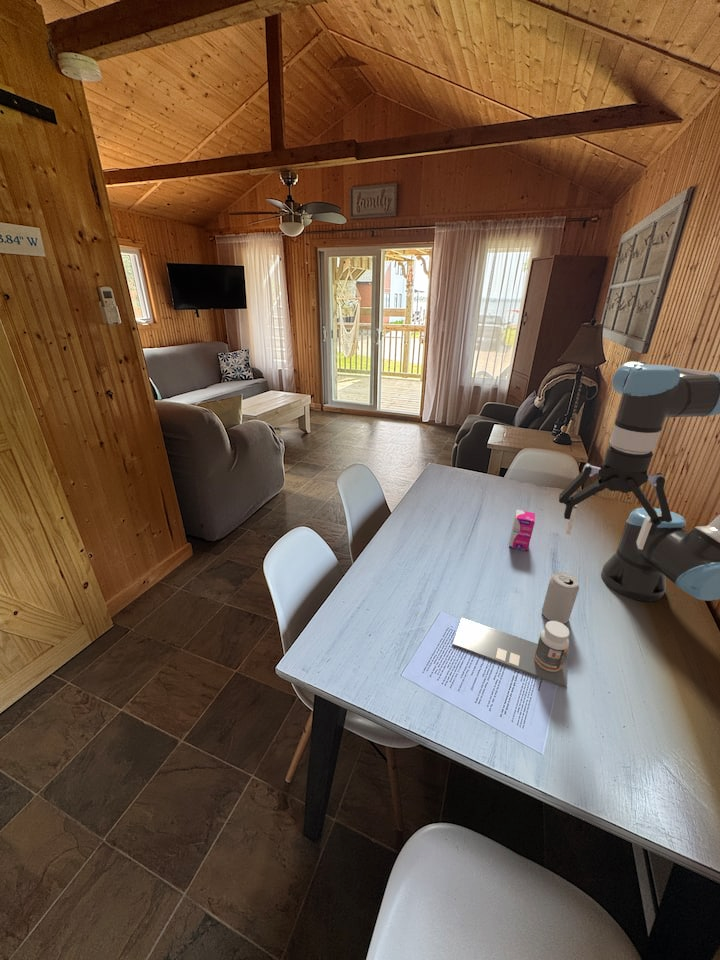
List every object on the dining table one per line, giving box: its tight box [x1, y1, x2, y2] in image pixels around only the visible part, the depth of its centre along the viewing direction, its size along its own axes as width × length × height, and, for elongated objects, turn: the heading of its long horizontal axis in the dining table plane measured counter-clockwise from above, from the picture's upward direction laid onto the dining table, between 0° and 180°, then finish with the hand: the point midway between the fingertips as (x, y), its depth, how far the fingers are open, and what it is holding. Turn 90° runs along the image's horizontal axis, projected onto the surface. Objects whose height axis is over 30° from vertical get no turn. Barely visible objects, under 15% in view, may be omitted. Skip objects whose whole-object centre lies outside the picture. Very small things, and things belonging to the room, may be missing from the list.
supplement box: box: [508, 509, 536, 552], centre depth 125 cm, size 6×6×12 cm
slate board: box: [451, 617, 568, 689], centre depth 90 cm, size 24×9×1 cm, turn 63°
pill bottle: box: [534, 620, 571, 672], centre depth 84 cm, size 6×6×10 cm
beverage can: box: [541, 571, 580, 624], centre depth 97 cm, size 6×6×12 cm
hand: (602, 538), depth 85 cm, fingers open, 13 cm apart
